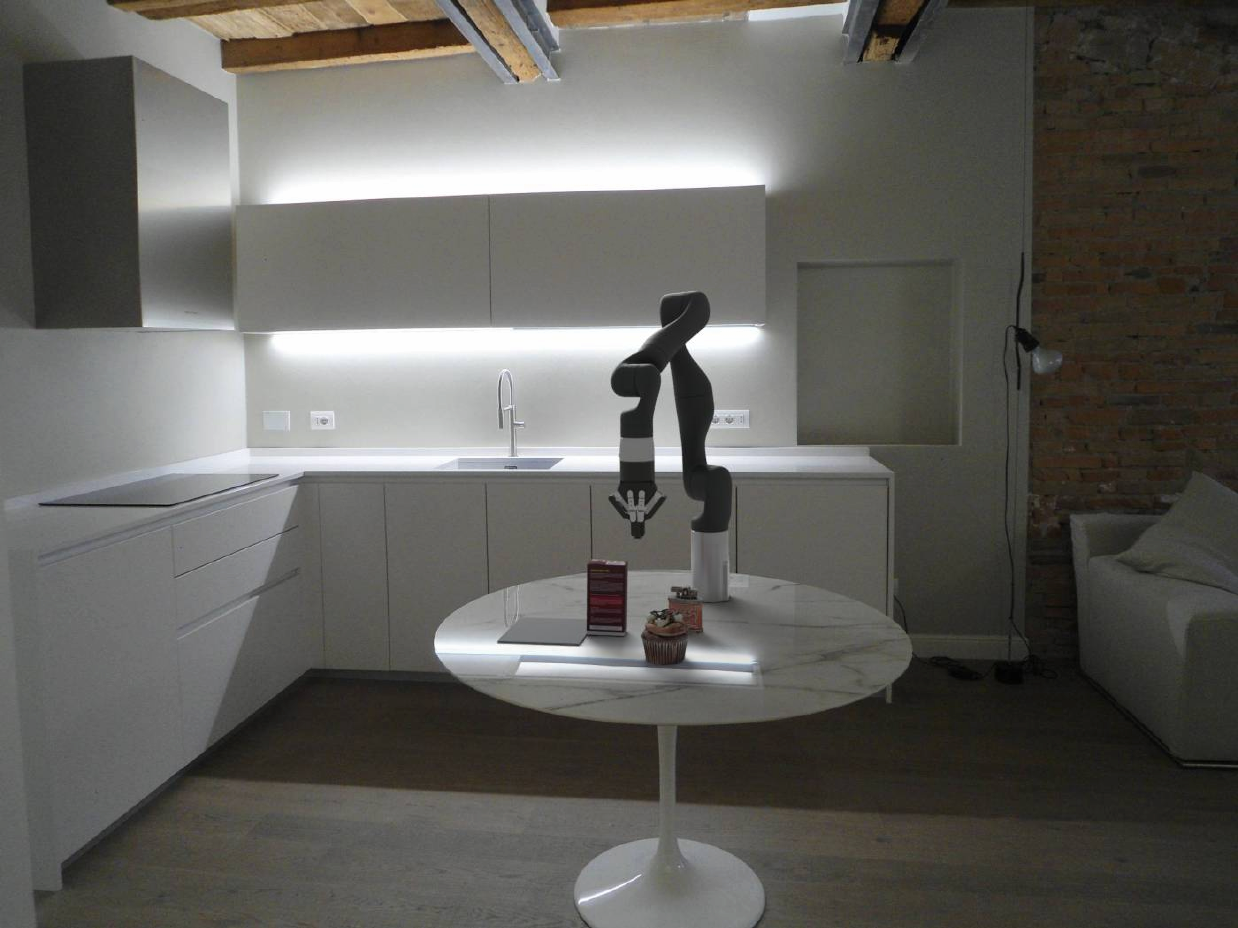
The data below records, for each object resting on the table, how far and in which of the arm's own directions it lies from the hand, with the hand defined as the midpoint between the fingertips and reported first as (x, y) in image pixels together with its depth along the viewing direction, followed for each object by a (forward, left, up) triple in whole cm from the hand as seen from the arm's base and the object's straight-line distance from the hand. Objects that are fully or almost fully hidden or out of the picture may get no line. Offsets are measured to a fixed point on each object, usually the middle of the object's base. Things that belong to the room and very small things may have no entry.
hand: (638, 538), depth 201 cm
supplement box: (+7, 0, -21) cm, 23 cm away
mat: (+20, 0, -21) cm, 29 cm away
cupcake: (-8, +15, -22) cm, 27 cm away
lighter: (-10, -4, -22) cm, 24 cm away
